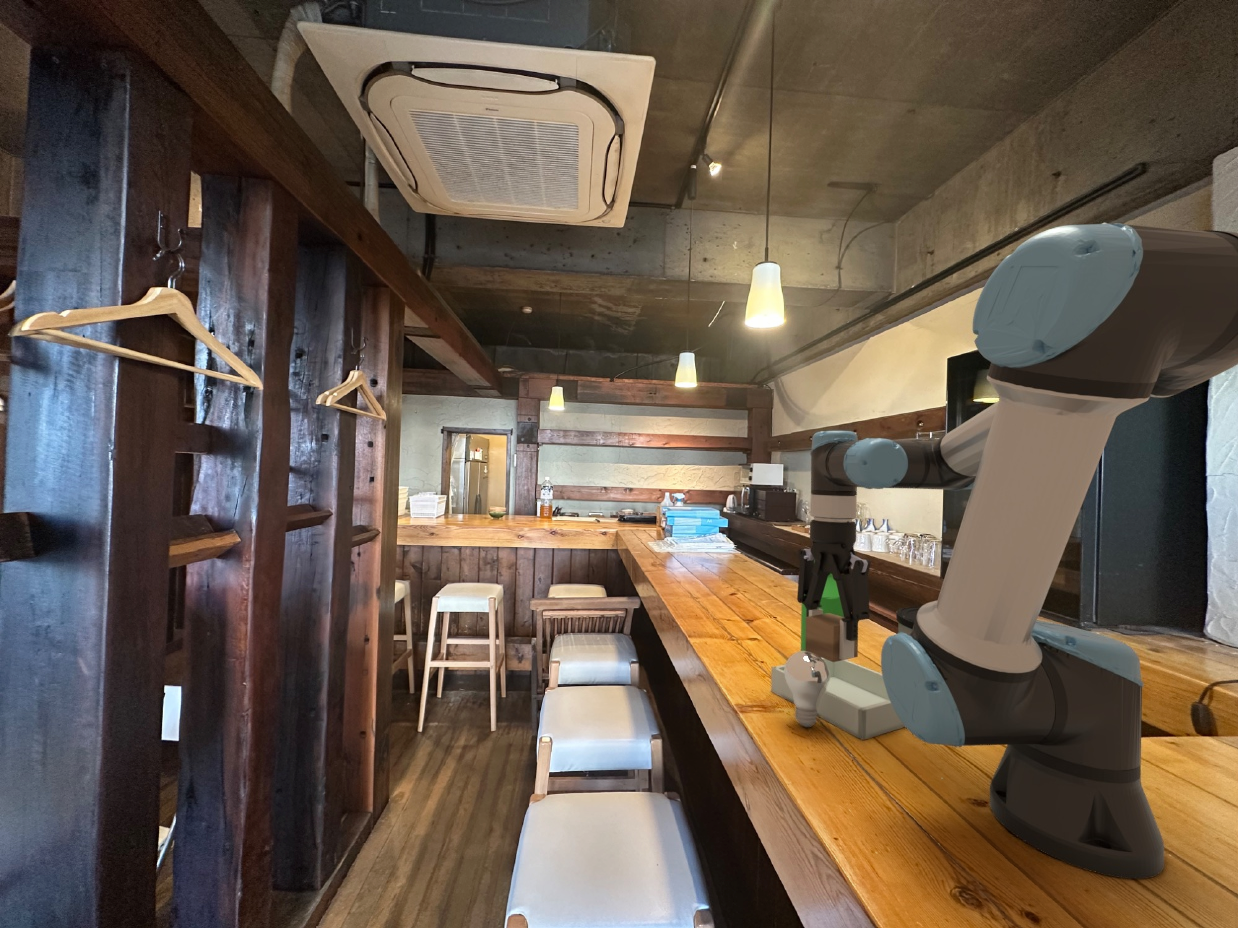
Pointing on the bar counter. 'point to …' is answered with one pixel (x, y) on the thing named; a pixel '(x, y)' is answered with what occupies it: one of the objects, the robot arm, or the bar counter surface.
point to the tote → (849, 699)
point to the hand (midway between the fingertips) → (830, 651)
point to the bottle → (823, 606)
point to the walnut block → (825, 636)
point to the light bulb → (806, 684)
